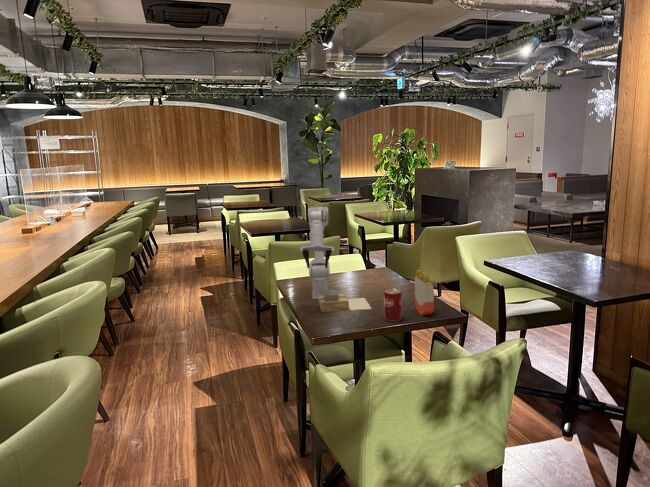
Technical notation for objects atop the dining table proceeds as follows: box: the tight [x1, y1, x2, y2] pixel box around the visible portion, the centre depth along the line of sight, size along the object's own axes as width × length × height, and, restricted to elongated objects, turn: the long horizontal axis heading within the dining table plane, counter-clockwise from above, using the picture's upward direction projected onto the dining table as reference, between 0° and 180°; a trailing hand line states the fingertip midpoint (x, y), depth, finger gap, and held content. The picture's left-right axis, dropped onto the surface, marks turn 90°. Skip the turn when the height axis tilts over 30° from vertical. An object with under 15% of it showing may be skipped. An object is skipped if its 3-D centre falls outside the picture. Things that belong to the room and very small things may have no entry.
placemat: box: [347, 297, 372, 312], centre depth 222 cm, size 16×10×1 cm, turn 7°
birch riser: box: [317, 292, 350, 313], centre depth 220 cm, size 14×12×4 cm
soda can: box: [383, 288, 403, 323], centre depth 200 cm, size 7×7×12 cm
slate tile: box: [323, 289, 339, 301], centre depth 219 cm, size 9×6×2 cm, turn 7°
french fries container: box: [414, 269, 435, 316], centre depth 206 cm, size 5×11×18 cm, turn 11°
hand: (317, 267), depth 207 cm, fingers open, 7 cm apart
